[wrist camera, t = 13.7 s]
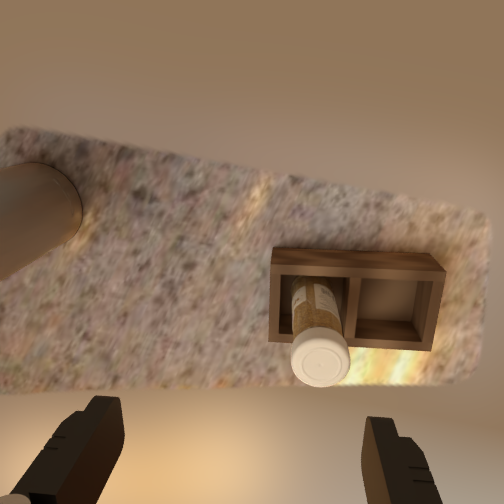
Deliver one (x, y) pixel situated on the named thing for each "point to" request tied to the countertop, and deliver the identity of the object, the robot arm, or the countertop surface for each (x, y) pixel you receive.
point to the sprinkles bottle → (317, 333)
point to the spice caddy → (364, 295)
